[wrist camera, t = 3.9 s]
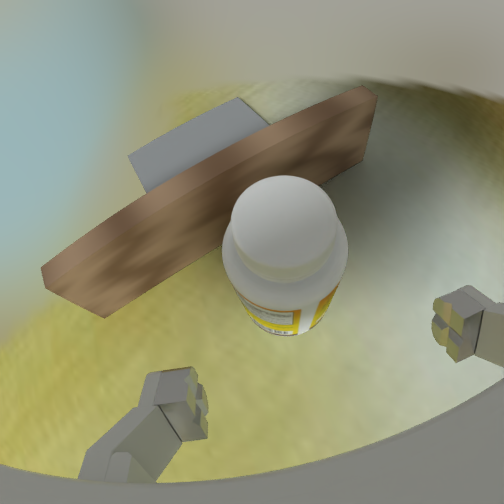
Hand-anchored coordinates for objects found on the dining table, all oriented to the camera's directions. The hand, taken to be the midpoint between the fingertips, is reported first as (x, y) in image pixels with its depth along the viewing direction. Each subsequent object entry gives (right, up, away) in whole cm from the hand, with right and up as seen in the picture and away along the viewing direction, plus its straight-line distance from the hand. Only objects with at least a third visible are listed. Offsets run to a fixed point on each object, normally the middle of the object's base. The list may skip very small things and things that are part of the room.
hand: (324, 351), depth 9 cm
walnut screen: (-3, +5, +14) cm, 15 cm away
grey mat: (-6, +11, +17) cm, 21 cm away
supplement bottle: (0, 0, +11) cm, 11 cm away
